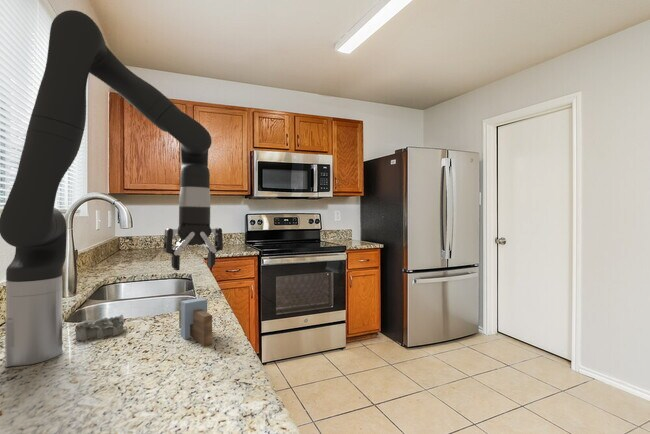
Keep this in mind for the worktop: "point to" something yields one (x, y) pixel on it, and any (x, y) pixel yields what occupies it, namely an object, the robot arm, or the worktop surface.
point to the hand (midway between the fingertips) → (194, 268)
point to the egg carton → (99, 327)
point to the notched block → (190, 314)
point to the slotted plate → (200, 326)
